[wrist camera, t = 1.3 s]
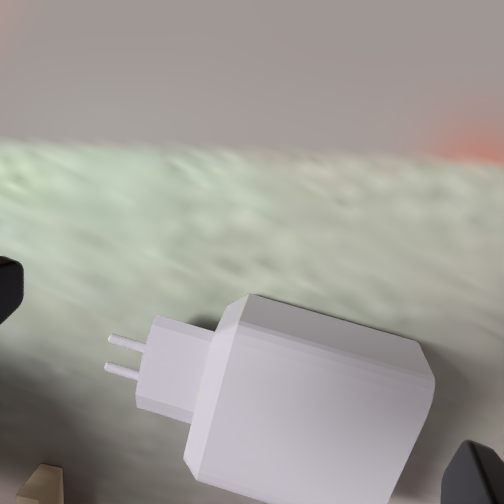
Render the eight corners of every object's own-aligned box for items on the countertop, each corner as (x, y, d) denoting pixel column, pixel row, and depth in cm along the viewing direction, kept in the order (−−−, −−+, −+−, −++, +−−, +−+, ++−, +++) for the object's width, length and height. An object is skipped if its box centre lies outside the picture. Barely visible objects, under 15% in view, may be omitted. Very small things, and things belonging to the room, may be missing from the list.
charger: (139, 255, 23) (415, 334, 22) (116, 395, 26) (358, 470, 25) (96, 288, 18) (441, 389, 17) (74, 453, 21) (368, 547, 20)
